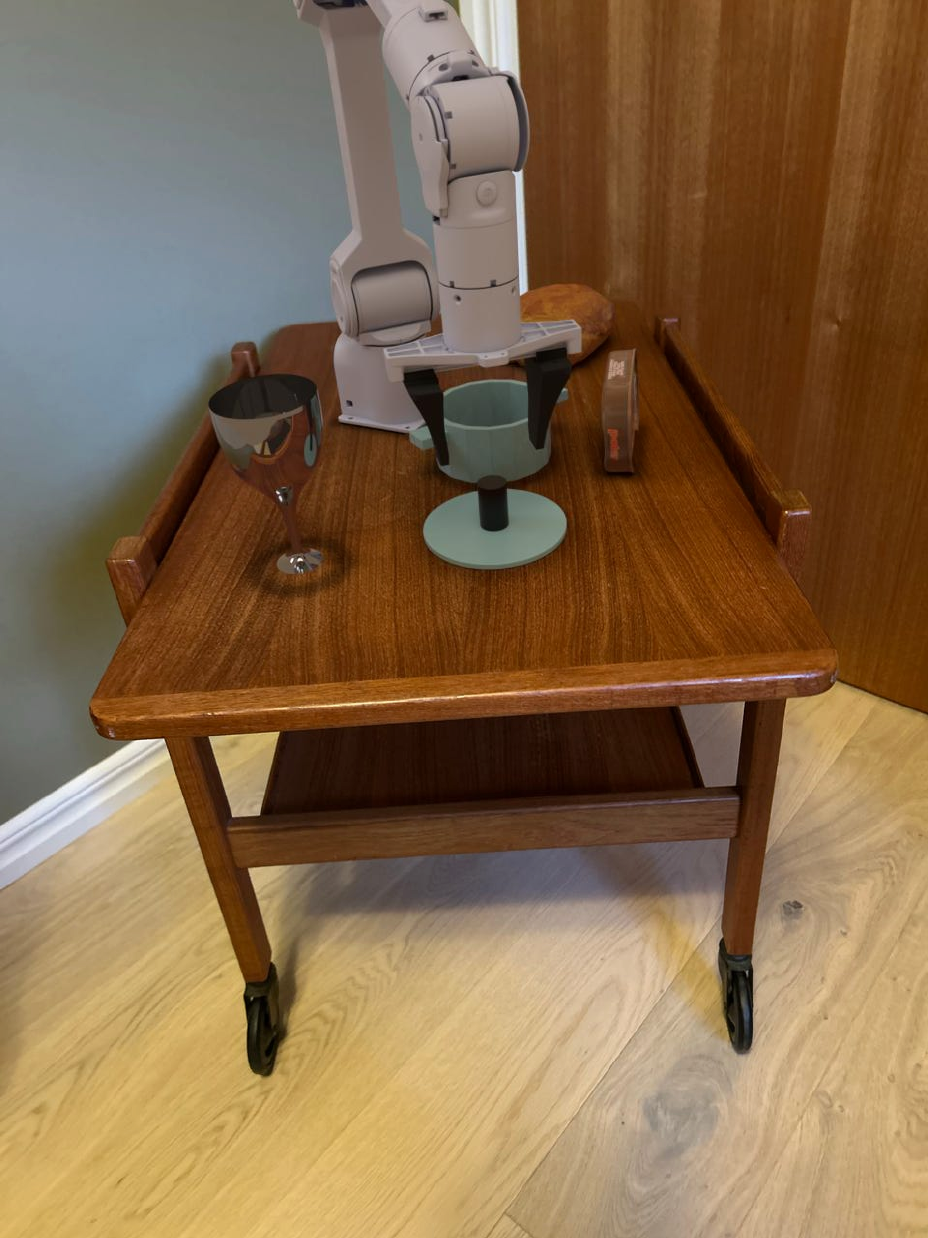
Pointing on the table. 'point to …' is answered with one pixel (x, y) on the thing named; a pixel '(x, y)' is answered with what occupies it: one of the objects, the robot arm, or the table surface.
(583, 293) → the croissant
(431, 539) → the lid
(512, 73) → the robot arm
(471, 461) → the pot
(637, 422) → the tin
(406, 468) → the table surface
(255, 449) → the wine glass
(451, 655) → the table surface
